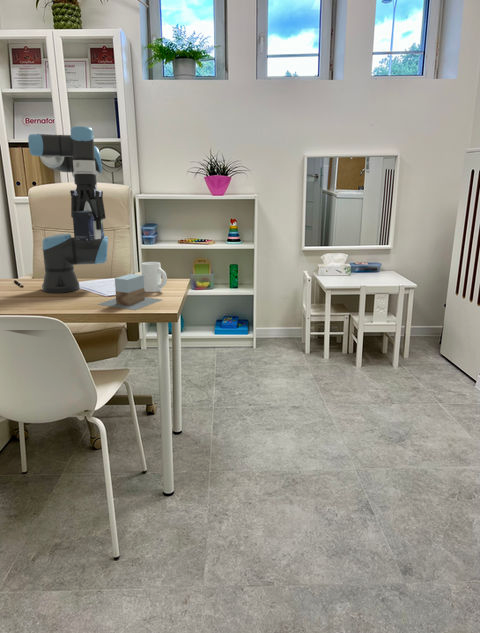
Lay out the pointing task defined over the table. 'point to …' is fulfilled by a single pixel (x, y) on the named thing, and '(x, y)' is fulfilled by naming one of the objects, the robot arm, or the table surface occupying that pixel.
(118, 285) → the block top
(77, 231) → the small box
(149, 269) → the mug
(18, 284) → the table surface
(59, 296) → the table surface
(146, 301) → the mat
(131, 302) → the block bottom
